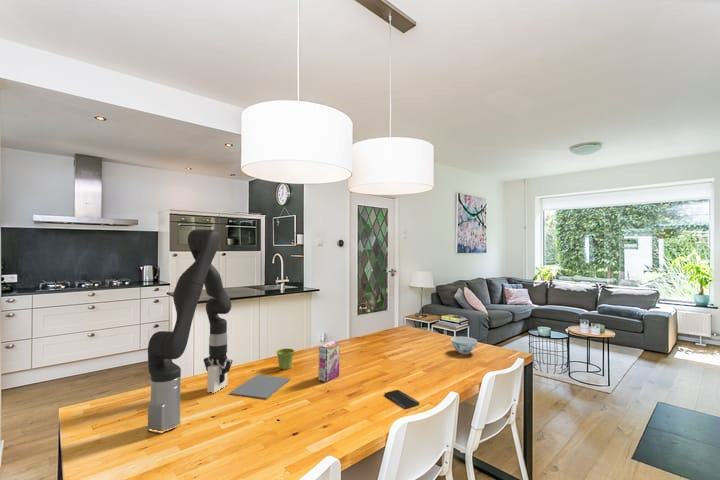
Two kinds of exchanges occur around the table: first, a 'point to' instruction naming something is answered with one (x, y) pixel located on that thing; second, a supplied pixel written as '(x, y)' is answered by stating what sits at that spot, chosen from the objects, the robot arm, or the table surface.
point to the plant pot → (285, 358)
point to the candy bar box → (329, 361)
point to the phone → (401, 399)
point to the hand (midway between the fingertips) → (217, 381)
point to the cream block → (215, 379)
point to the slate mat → (260, 386)
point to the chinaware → (464, 344)
